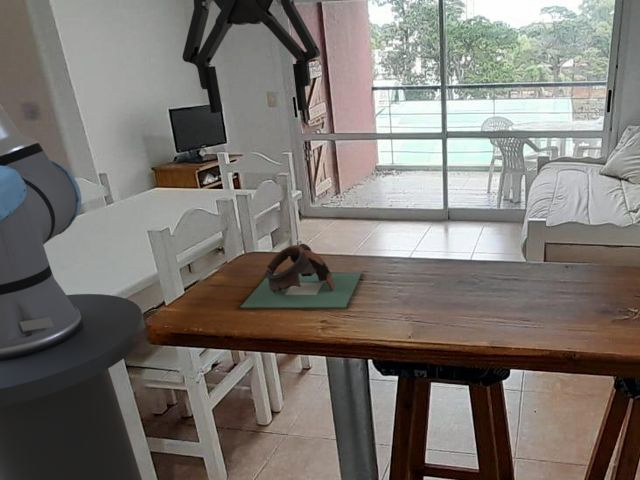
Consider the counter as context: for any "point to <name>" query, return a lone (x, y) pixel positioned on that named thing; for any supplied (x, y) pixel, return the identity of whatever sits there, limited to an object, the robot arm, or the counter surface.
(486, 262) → the counter surface
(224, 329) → the counter surface
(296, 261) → the broken pottery ring
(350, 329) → the counter surface
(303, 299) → the centre mat
